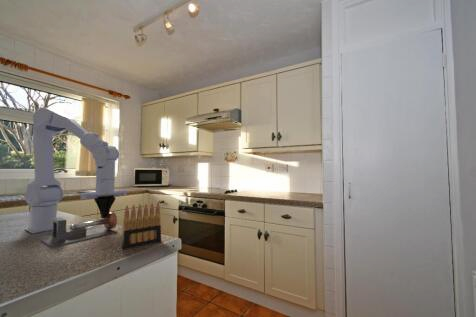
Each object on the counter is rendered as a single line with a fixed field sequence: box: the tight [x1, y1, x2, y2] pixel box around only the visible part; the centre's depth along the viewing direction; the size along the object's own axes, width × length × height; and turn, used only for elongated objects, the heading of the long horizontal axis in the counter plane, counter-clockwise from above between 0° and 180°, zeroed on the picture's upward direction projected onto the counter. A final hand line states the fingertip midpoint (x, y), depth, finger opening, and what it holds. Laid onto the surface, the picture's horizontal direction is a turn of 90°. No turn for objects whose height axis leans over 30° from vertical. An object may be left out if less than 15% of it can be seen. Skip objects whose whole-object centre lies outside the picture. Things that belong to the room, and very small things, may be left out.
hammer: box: [69, 211, 118, 230], centre depth 76 cm, size 6×14×6 cm, turn 145°
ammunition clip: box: [121, 202, 162, 250], centre depth 66 cm, size 11×2×12 cm, turn 129°
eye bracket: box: [40, 217, 118, 249], centre depth 73 cm, size 10×18×7 cm, turn 145°
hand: (104, 217), depth 79 cm, fingers closed
